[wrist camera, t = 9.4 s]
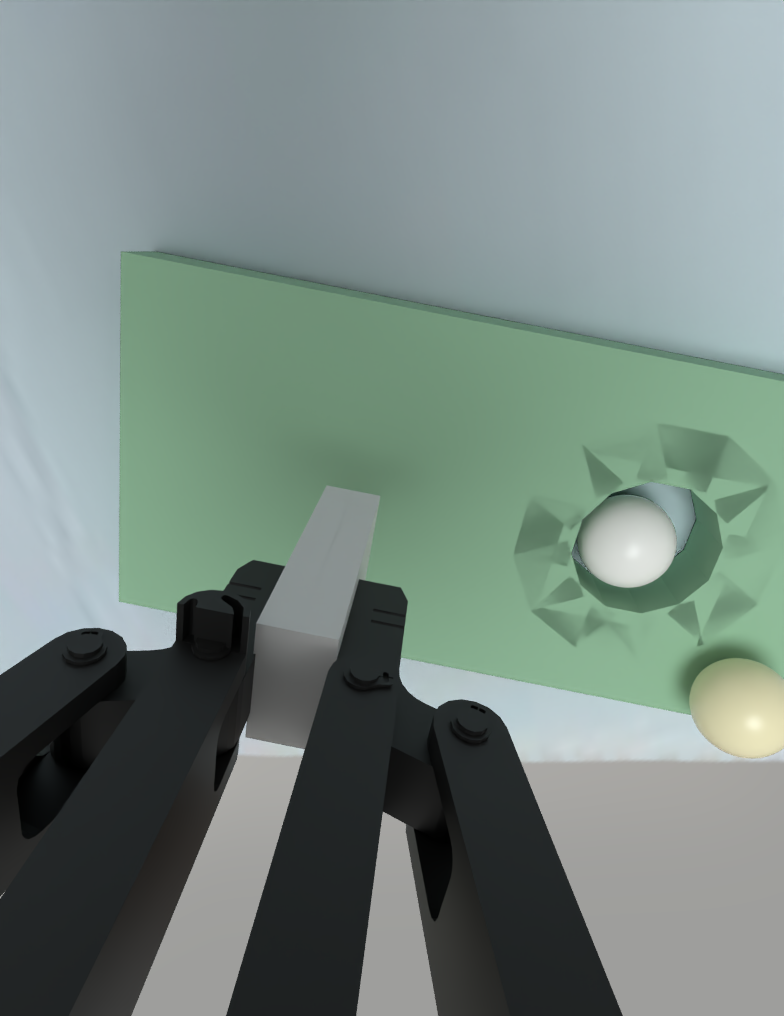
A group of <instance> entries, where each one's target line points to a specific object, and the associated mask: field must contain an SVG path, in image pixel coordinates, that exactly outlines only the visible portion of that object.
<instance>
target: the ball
mask: <svg viewBox="0 0 784 1016" xmlns="http://www.w3.org/2000/svg"><path fill="white" fill-rule="evenodd" d="M577 543H578V550H579V554H580V557H581V559H582V561H583V563H584V564H585V566H586V567H587V569H588V570H589V571H590V572H591V573H592V574H593V575H594V576H595V577H597V578H598V579H600V580H601V581H603V582H605V583H607V584H610V585H613V586H617V587H623V588H634V587H640V586H643V585H646V584H649V583H651V582H653V581H654V580H656V579H658V578H659V577H660V576H661V575H662V574H664V572H665V571H666V570H667V569H668V568H669V566H670V565H671V563H672V561H673V559H674V556H675V552H676V547H677V537H676V532H675V528H674V526H673V523H672V521H671V519H670V518H669V516H668V515H667V514H666V512H665V511H664V510H663V509H662V508H661V507H659V506H658V505H657V504H655V503H654V502H652V501H650V500H648V499H646V498H643V497H640V496H635V495H617V496H612V497H609V498H606V499H605V500H604V501H603V502H602V503H600V504H599V505H598V506H597V507H596V508H595V509H594V510H593V511H592V512H591V513H589V514H588V515H587V516H586V517H585V518H584V519H583V520H582V523H581V526H580V529H579V532H578V538H577Z"/></svg>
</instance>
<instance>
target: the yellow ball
mask: <svg viewBox="0 0 784 1016" xmlns="http://www.w3.org/2000/svg"><path fill="white" fill-rule="evenodd" d="M689 705H690V711H691V715H692V718H693V720H694V723H695V724H696V726H697V728H698V729H699V731H700V732H701V734H702V735H703V736H704V737H705V738H706V739H707V740H708V741H709V742H710V743H711V744H713V745H714V746H715V747H717V748H718V749H720V750H722V751H724V752H726V753H728V754H731V755H734V756H737V757H742V758H763V757H767V756H770V755H773V754H775V753H777V752H779V751H780V750H782V749H783V748H784V679H783V678H782V677H781V676H780V675H779V674H778V673H776V672H775V671H774V670H772V669H771V668H769V667H767V666H765V665H764V664H762V663H759V662H756V661H753V660H749V659H743V658H728V659H723V660H720V661H717V662H714V663H712V664H710V665H709V666H707V667H706V668H704V669H703V670H702V671H701V672H700V673H699V674H698V676H697V677H696V679H695V680H694V682H693V684H692V687H691V691H690V695H689Z"/></svg>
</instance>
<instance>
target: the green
mask: <svg viewBox="0 0 784 1016" xmlns="http://www.w3.org/2000/svg"><path fill="white" fill-rule="evenodd" d="M649 482H655V483H660V484H665V485H670V486H675V487H681V488H686V489H691V494H692V499H693V504H694V509H695V514H696V521H695V524H694V526H693V529H692V531H691V534H690V536H689V538H688V541H687V543H686V546H685V548H684V550H683V551H682V552H680V553H679V554H678V555H677V556H675V557H674V559H673V561H672V563H671V565H670V566H669V568H668V569H667V570H666V571H665V572H664V574H662V575H661V576H660V577H659V578H658V579H656V580H654V581H653V582H651V583H649V584H646V585H643V586H640V587H634V588H623V587H617V586H613V585H610V584H607V583H605V582H603V581H601V580H600V579H598V578H597V577H595V576H594V575H593V574H591V573H589V572H588V571H587V570H586V569H585V568H584V567H582V566H581V565H580V564H579V563H578V562H577V561H575V560H574V559H573V558H572V554H571V553H572V550H573V547H574V544H575V541H576V538H577V535H578V532H579V529H580V526H581V523H582V520H583V519H584V518H585V517H586V516H587V515H588V514H589V513H591V512H592V511H593V510H594V509H595V508H596V507H597V506H598V505H599V504H600V503H602V502H603V501H604V500H605V499H606V498H607V497H608V496H609V495H610V494H611V493H614V492H618V491H621V490H625V489H628V488H632V487H635V486H639V485H642V484H646V483H649ZM326 486H332V487H338V488H343V489H348V490H353V491H358V492H363V493H368V494H373V495H378V496H380V501H379V506H378V512H377V518H376V523H375V529H374V534H373V540H372V546H371V551H370V557H369V562H368V568H367V574H366V579H365V580H366V581H371V582H376V583H381V584H386V585H391V586H396V587H401V589H402V591H403V593H404V594H405V596H406V598H407V600H408V605H407V613H406V621H405V628H404V636H403V644H402V651H401V658H406V659H411V660H416V661H421V662H426V663H432V664H437V665H442V666H447V667H452V668H457V669H462V670H467V671H472V672H477V673H482V674H487V675H492V676H497V677H502V678H507V679H512V680H517V681H522V682H527V683H532V684H537V685H542V686H548V687H553V688H558V689H563V690H568V691H573V692H578V693H583V694H588V695H593V696H598V697H603V698H608V699H613V700H618V701H623V702H628V703H633V704H638V705H643V706H648V707H653V708H658V709H664V710H669V711H674V712H679V713H684V714H689V715H691V711H690V705H689V695H690V691H691V687H692V684H693V682H694V680H695V679H696V677H697V676H698V674H699V673H700V672H701V671H702V670H703V669H704V668H706V667H707V666H709V665H710V664H712V663H714V662H717V661H720V660H723V659H728V658H743V659H749V660H753V661H756V662H759V663H762V664H764V665H765V666H767V667H769V668H771V669H772V670H774V671H775V672H776V673H778V674H779V675H780V676H781V677H782V678H783V679H784V375H783V374H778V373H773V372H768V371H763V370H758V369H753V368H748V367H743V366H737V365H732V364H727V363H722V362H717V361H712V360H707V359H702V358H697V357H691V356H686V355H681V354H676V353H671V352H666V351H661V350H656V349H651V348H646V347H640V346H635V345H630V344H625V343H620V342H615V341H610V340H605V339H600V338H594V337H589V336H584V335H579V334H574V333H569V332H564V331H559V330H554V329H548V328H543V327H538V326H533V325H528V324H523V323H518V322H513V321H508V320H503V319H497V318H492V317H487V316H482V315H477V314H472V313H467V312H462V311H457V310H451V309H446V308H441V307H436V306H431V305H426V304H421V303H416V302H411V301H405V300H400V299H395V298H390V297H385V296H380V295H375V294H370V293H365V292H360V291H354V290H349V289H344V288H339V287H334V286H329V285H324V284H319V283H314V282H308V281H303V280H298V279H293V278H288V277H283V276H278V275H273V274H268V273H262V272H257V271H252V270H247V269H242V268H237V267H232V266H227V265H222V264H216V263H211V262H206V261H201V260H196V259H191V258H186V257H181V256H176V255H171V254H165V253H160V252H121V333H120V511H119V602H124V603H129V604H134V605H139V606H144V607H149V608H154V609H159V610H164V611H169V612H174V613H177V603H178V602H179V601H180V600H181V599H183V598H184V597H185V596H187V595H190V594H192V593H195V592H198V591H205V590H221V591H223V590H224V589H225V587H226V586H227V584H229V581H230V580H231V578H232V577H233V575H234V573H235V572H236V570H237V569H238V568H240V567H242V566H243V565H245V564H247V563H248V562H250V561H252V560H257V561H262V562H267V563H272V564H277V565H282V566H286V564H287V562H288V560H289V558H290V556H291V554H292V552H293V550H294V548H295V546H296V544H297V543H298V541H299V539H300V537H301V535H302V533H303V531H304V529H305V527H306V525H307V523H308V521H309V519H310V517H311V515H312V513H313V511H314V509H315V507H316V505H317V503H318V501H319V499H320V497H321V496H322V494H323V492H324V490H325V488H326Z"/></svg>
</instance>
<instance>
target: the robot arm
mask: <svg viewBox="0 0 784 1016" xmlns="http://www.w3.org/2000/svg"><path fill="white" fill-rule="evenodd" d="M379 501H380V496H378V495H373V494H368V493H363V492H358V491H353V490H348V489H343V488H338V487H332V486H326V488H325V490H324V492H323V494H322V496H321V497H320V499H319V501H318V503H317V505H316V507H315V509H314V511H313V513H312V515H311V517H310V519H309V521H308V523H307V525H306V527H305V529H304V531H303V533H302V535H301V537H300V539H299V541H298V543H297V544H296V546H295V548H294V550H293V552H292V554H291V556H290V558H289V560H288V562H287V564H286V566H282V565H277V564H272V563H267V562H262V561H257V560H252V561H250V562H248V563H247V564H245V565H243V566H242V567H240V568H238V569H237V570H236V572H235V573H234V575H233V577H232V578H231V580H230V581H229V584H227V586H226V587H225V589H224V590H223V591H221V590H205V591H198V592H195V593H192V594H190V595H187V596H185V597H184V598H183V599H181V600H180V601H179V602H178V603H177V622H176V641H175V643H174V644H173V646H172V647H170V648H166V649H161V650H150V651H127V645H126V643H125V642H124V640H123V638H122V637H121V636H119V635H118V634H116V633H115V632H113V631H109V630H105V629H101V628H84V629H79V630H75V631H71V632H67V633H65V634H63V635H61V636H59V637H57V638H55V639H53V640H52V641H50V642H49V643H47V644H46V645H44V646H43V647H41V648H40V649H38V650H37V651H35V652H34V653H32V654H31V655H29V656H28V657H26V658H25V659H23V660H22V661H20V662H19V663H17V664H16V665H14V666H13V667H11V668H10V669H8V670H7V671H5V672H4V673H2V674H1V675H0V896H1V895H2V894H3V893H4V892H5V893H4V894H3V896H2V897H1V899H0V1016H131V1015H132V1012H133V1010H134V1008H135V1005H136V1003H137V1000H138V998H139V995H140V993H141V990H142V988H143V986H144V983H145V981H146V978H147V976H148V973H149V971H150V969H151V966H152V964H153V961H154V959H155V956H156V954H157V951H158V949H159V947H160V944H161V942H162V940H163V937H164V935H165V932H166V930H167V927H168V925H169V923H170V920H171V918H172V915H173V913H174V910H175V908H176V906H177V903H178V901H179V898H180V896H181V893H182V891H183V889H184V886H185V884H186V881H187V879H188V876H189V874H190V871H191V869H192V867H193V864H194V862H195V859H196V857H197V855H198V852H199V850H200V847H201V845H202V842H203V840H204V838H205V835H206V833H207V830H208V828H209V826H210V823H211V821H212V818H213V816H214V813H215V811H216V808H217V806H218V804H219V801H220V799H221V796H222V794H223V792H224V789H225V786H226V784H227V782H228V779H229V777H230V774H231V772H232V770H233V767H234V765H235V762H236V760H237V755H238V749H239V737H240V735H241V733H242V730H243V728H244V726H245V723H246V721H247V726H246V737H247V738H252V739H257V740H262V741H267V742H272V743H277V744H282V745H287V746H292V747H297V748H302V749H305V751H304V755H303V758H302V761H301V765H300V768H299V772H298V775H297V778H296V782H295V785H294V789H293V792H292V795H291V799H290V803H289V806H288V809H287V812H286V816H285V819H284V822H283V825H282V829H281V832H280V836H279V839H278V842H277V846H276V849H275V853H274V856H273V859H272V863H271V866H270V869H269V873H268V876H267V880H266V883H265V886H264V890H263V893H262V897H261V900H260V903H259V907H258V910H257V913H256V917H255V920H254V924H253V927H252V930H251V934H250V937H249V940H248V944H247V947H246V951H245V954H244V957H243V961H242V964H241V967H240V971H239V974H238V978H237V981H236V984H235V988H234V991H233V994H232V998H231V1001H230V1005H229V1008H228V1012H227V1015H226V1016H356V1011H357V1004H358V997H359V989H360V981H361V974H362V966H363V958H364V950H365V943H366V935H367V928H368V920H369V912H370V905H371V896H372V889H373V882H374V874H375V866H376V859H377V851H378V843H379V836H380V828H381V820H382V813H383V812H385V813H387V814H389V815H391V816H392V817H394V818H396V819H398V820H400V821H402V822H404V823H405V824H406V834H407V840H408V845H409V851H410V857H411V863H412V869H413V874H414V880H415V885H416V891H417V897H418V903H419V908H420V914H421V920H422V925H423V931H424V937H425V942H426V948H427V954H428V959H429V965H430V971H431V977H432V982H433V988H434V994H435V999H436V1005H437V1011H438V1016H623V1015H622V1013H621V1010H620V1008H619V1005H618V1003H617V1000H616V998H615V995H614V993H613V991H612V988H611V986H610V983H609V981H608V978H607V976H606V973H605V971H604V968H603V966H602V963H601V961H600V958H599V956H598V953H597V951H596V948H595V946H594V943H593V941H592V938H591V936H590V934H589V931H588V928H587V926H586V923H585V921H584V918H583V916H582V913H581V911H580V909H579V906H578V904H577V901H576V899H575V896H574V894H573V891H572V889H571V886H570V884H569V881H568V879H567V876H566V874H565V871H564V869H563V866H562V864H561V861H560V859H559V856H558V854H557V851H556V849H555V846H554V844H553V841H552V839H551V837H550V834H549V831H548V829H547V826H546V824H545V821H544V819H543V816H542V814H541V812H540V809H539V807H538V804H537V802H536V799H535V797H534V794H533V792H532V789H531V787H530V784H529V782H528V779H527V777H526V774H525V772H524V769H523V767H522V764H521V762H520V759H519V757H518V754H517V752H516V749H515V747H514V744H513V742H512V739H511V737H510V734H509V732H508V729H507V727H506V726H505V724H504V723H503V721H502V719H501V718H500V717H499V716H498V715H497V714H496V713H494V712H493V711H492V710H491V709H490V708H488V707H486V706H484V705H481V704H479V703H477V702H473V701H468V700H462V699H461V700H453V701H448V702H446V703H444V704H442V705H441V706H439V707H438V709H435V708H433V707H431V706H429V705H427V704H425V703H423V702H421V701H420V700H418V699H416V698H415V697H414V696H412V695H411V694H410V693H409V692H408V691H407V690H406V688H405V687H404V686H403V684H402V682H401V680H400V677H399V667H400V659H401V651H402V644H403V636H404V628H405V621H406V613H407V605H408V600H407V598H406V596H405V594H404V593H403V591H402V589H401V587H396V586H391V585H386V584H381V583H376V582H371V581H366V580H365V579H366V574H367V568H368V562H369V557H370V551H371V546H372V540H373V534H374V529H375V523H376V518H377V512H378V506H379Z"/></svg>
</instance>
